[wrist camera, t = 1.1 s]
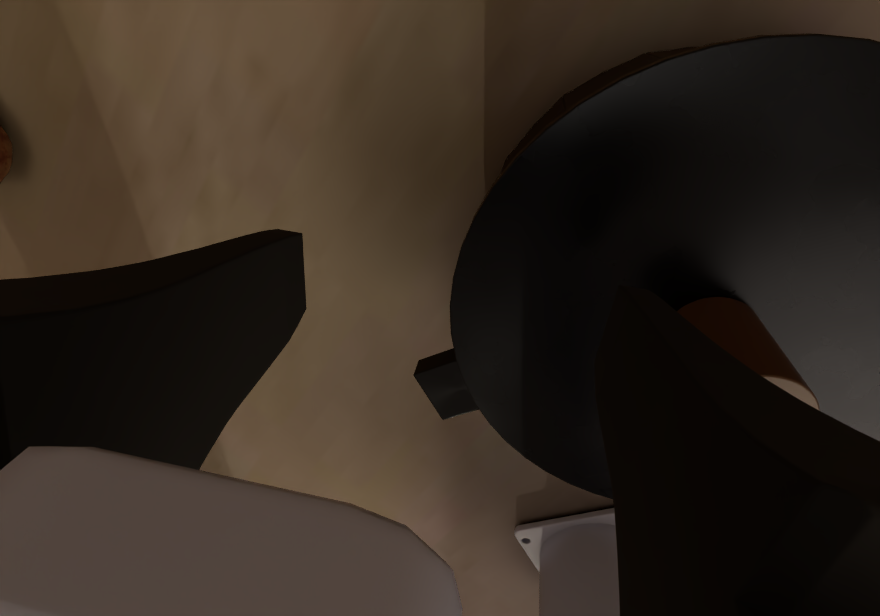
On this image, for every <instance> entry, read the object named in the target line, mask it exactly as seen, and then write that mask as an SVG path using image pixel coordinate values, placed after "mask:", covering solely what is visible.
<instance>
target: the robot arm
mask: <svg viewBox="0 0 880 616" xmlns="http://www.w3.org/2000/svg"><path fill="white" fill-rule="evenodd" d="M305 310H306V294H305V276H304V258H303V239H302V233H298V232H292V231H286V230H279V229H274V230H267V231H261V232H257V233H253V234H249V235H245V236H241V237H238V238H234V239H230V240H227V241H223V242H220V243H216V244H212V245H209V246H205V247H202V248H198V249H194V250H190V251H186V252H182V253H178V254H174V255H170V256H166V257H162V258H158V259H154V260H150V261H145V262H140V263H135V264H130V265H125V266H119V267H113V268H107V269H101V270H94V271H87V272H78V273H69V274H60V275H51V276H42V277H33V278H20V279H4V280H0V616H462V605H461V600H460V596H459V592H458V588H457V584H456V580H455V576H454V572H453V570H452V569H451V568H450V566H449V565H448V564H447V563H446V562H445V561H444V560H443V559H442V558H441V557H440V556H439V555H438V554H437V553H436V552H435V551H433V550H432V549H431V548H430V547H429V546H428V545H427V544H426V543H425V542H424V541H423V540H421V539H420V538H419V537H418V536H417V535H416V534H415V533H414V532H413V531H412V530H411V529H409V528H408V527H407V526H406V525H403V524H401V523H398V522H396V521H393V520H391V519H388V518H386V517H383V516H381V515H378V514H376V513H373V512H371V511H368V510H366V509H363V508H361V507H358V506H356V505H353V504H351V503H346V502H342V501H337V500H333V499H328V498H324V497H319V496H315V495H310V494H305V493H301V492H296V491H292V490H287V489H283V488H278V487H274V486H269V485H264V484H260V483H255V482H251V481H246V480H242V479H237V478H233V477H228V476H223V475H219V474H214V473H210V472H205V471H201V470H199V469H200V467H201V465H202V463H203V462H204V460H205V458H206V457H207V455H208V453H209V452H210V450H211V448H212V447H213V445H214V443H215V442H216V440H217V438H218V437H219V435H220V433H221V432H222V430H223V428H224V427H225V425H226V424H227V422H228V421H229V419H230V418H231V416H232V415H233V414H234V412H235V411H236V409H237V408H238V407H239V405H240V404H241V403H242V401H243V400H244V399H245V398H246V396H247V395H248V394H249V392H250V391H251V390H252V389H253V387H254V386H255V385H256V383H257V382H258V381H259V380H260V378H261V377H262V376H263V374H264V373H265V372H266V371H267V369H268V368H269V367H270V365H271V364H272V363H273V361H274V360H275V359H276V358H277V356H278V355H279V354H280V352H281V351H282V350H283V348H284V347H285V346H286V344H287V343H288V341H289V340H290V338H291V336H292V335H293V333H294V331H295V329H296V328H297V326H298V324H299V322H300V320H301V318H302V316H303V314H304V312H305ZM594 362H595V398H596V404H597V410H598V415H599V421H600V427H601V432H602V437H603V443H604V448H605V453H606V459H607V464H608V469H609V475H610V480H611V486H612V493H613V501H614V508H610V509H604V510H599V511H594V512H588V513H583V514H577V515H572V516H566V517H561V518H556V519H550V520H545V521H539V522H534V523H528V524H523V525H519V526H517V527H515V531H514V535H515V537H516V538H517V540H518V541H519V543H520V544H521V546H522V547H523V549H524V550H525V552H526V554H527V555H528V557H529V558H530V560H531V561H532V563H533V564H534V566H535V567H536V569H537V570H538V572H539V616H880V441H878V440H876V439H874V438H872V437H870V436H868V435H866V434H864V433H862V432H859V431H857V430H855V429H854V428H852V427H850V426H848V425H846V424H844V423H842V422H840V421H838V420H836V419H834V418H833V417H831V416H829V415H827V414H825V413H823V412H821V411H819V410H817V409H815V408H814V407H812V406H810V405H808V404H807V403H805V402H803V401H801V400H799V399H798V398H796V397H794V396H793V395H791V394H790V393H788V392H786V391H785V390H783V389H781V388H780V387H778V386H777V385H775V384H773V383H772V382H770V381H768V380H767V379H765V378H764V377H762V376H761V375H759V374H758V373H756V372H755V371H753V370H752V369H750V368H749V367H747V366H746V365H745V364H743V363H742V362H740V361H739V360H738V359H736V358H735V357H734V356H732V355H731V354H729V353H728V352H727V351H725V350H724V349H723V348H721V347H720V346H719V345H717V344H716V343H715V342H714V341H712V340H711V339H710V338H708V337H707V336H706V335H705V334H703V333H702V332H701V331H700V330H699V329H697V328H696V327H695V326H694V325H692V324H691V323H690V322H689V321H688V320H686V319H685V318H684V317H683V316H682V315H680V314H679V313H678V312H677V311H676V310H674V309H673V308H672V307H671V306H670V305H668V304H667V303H666V302H665V301H663V300H662V299H661V298H660V297H658V296H657V295H656V294H654V293H653V292H651V291H649V290H647V289H641V288H635V287H629V286H623V285H619V286H618V289H617V292H616V295H615V298H614V302H613V305H612V308H611V311H610V314H609V317H608V320H607V323H606V326H605V329H604V333H603V336H602V339H601V342H600V345H599V348H598V351H597V354H596V357H595V360H594Z"/></svg>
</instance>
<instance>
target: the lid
mask: <svg viewBox="0 0 880 616" xmlns="http://www.w3.org/2000/svg"><path fill="white" fill-rule="evenodd" d="M619 285H623V286H629V287H635V288H641V289H647V290H649V291H651V292H653V293H654V294H656V295H657V296H658V297H660V298H661V299H662V300H663V301H665V302H666V303H667V304H668V305H670V306H671V307H672V308H673V309H674V310H676V311H677V312H678V313H679V314H680V315H682V316H683V317H684V318H685V319H686V320H688V321H689V322H690V323H691V324H692V325H694V326H695V327H696V328H697V329H699V330H700V331H701V332H702V333H703V334H705V335H706V336H707V337H708V338H710V339H711V340H712V341H714V342H715V343H716V344H717V345H719V346H720V347H721V348H723V349H724V350H725V351H727V352H728V353H729V354H731V355H732V356H734V357H735V358H736V359H738V360H739V361H740V362H742V363H743V364H745V365H746V366H747V367H749V368H750V369H752V370H753V371H755V372H756V373H758V374H759V375H761V376H762V377H764V378H765V379H767V380H768V381H770V382H772V383H773V384H775V385H777V386H778V387H780V388H781V389H783V390H785V391H786V392H788V393H790V394H791V395H793V396H794V397H796V398H798V399H799V400H801V401H803V402H805V403H807V404H808V405H810V406H812V407H814V408H815V409H817V410H819V411H821V412H823V413H825V414H827V415H829V416H831V417H833V418H834V419H836V420H838V421H840V422H842V423H844V424H846V425H848V426H850V427H852V428H854V429H855V430H857V431H859V432H862V433H864V434H866V435H868V436H870V437H872V438H874V439H876V440H878V441H880V42H879V41H875V40H871V39H864V38H854V37H844V36H834V35H824V34H812V33H806V34H780V35H758V36H752V37H747V38H741V39H735V40H729V41H723V42H717V43H711V44H707V45H704V46H701V47H697V48H694V49H691V50H687V51H684V52H681V53H677V54H674V55H671V56H668V57H664V58H661V59H659V60H657V61H655V62H652V63H650V64H648V65H645V66H643V67H641V68H639V69H636V70H634V71H632V72H629V73H627V74H625V75H623V76H620V77H618V78H617V79H615V80H613V81H611V82H610V83H608V84H606V85H605V86H603V87H601V88H600V89H598V90H596V91H594V92H593V93H591V94H589V95H588V96H586V97H584V98H583V99H581V100H579V101H578V102H577V103H575V104H574V105H573V106H571V107H570V108H569V109H567V110H566V111H565V112H563V113H562V114H561V115H560V116H558V117H557V118H556V119H554V120H553V121H552V122H550V123H549V124H548V125H546V126H545V127H544V128H543V129H542V130H541V131H540V132H539V133H538V134H537V135H536V136H535V137H534V138H533V139H532V140H531V141H530V142H529V143H528V144H527V145H526V146H525V147H524V148H523V149H522V150H521V151H520V152H518V153H517V154H516V156H515V157H514V158H513V159H512V161H511V162H510V163H509V165H508V166H507V167H506V168H505V170H504V171H503V172H502V173H501V175H500V176H499V177H498V178H497V180H496V181H495V182H494V183H493V185H492V187H491V188H490V190H489V192H488V193H487V195H486V197H485V198H484V200H483V202H482V203H481V205H480V207H479V208H478V210H477V212H476V213H475V216H474V218H473V220H472V223H471V225H470V227H469V230H468V232H467V234H466V237H465V239H464V241H463V244H462V247H461V250H460V254H459V257H458V261H457V265H456V269H455V272H454V276H453V283H452V292H451V300H450V323H451V336H452V341H453V347H454V352H455V357H456V360H457V363H458V366H459V369H460V372H461V375H462V378H463V381H464V383H465V385H466V387H467V389H468V391H469V392H470V394H471V396H472V398H473V400H474V402H475V404H476V405H477V407H478V408H479V410H480V411H481V412H482V414H483V415H484V417H485V418H486V419H487V421H488V422H489V424H490V425H491V426H492V427H493V428H494V429H495V430H496V431H497V432H498V433H499V434H500V436H501V437H502V438H503V439H504V440H505V441H506V442H507V443H508V444H510V445H511V446H512V447H513V448H514V449H515V450H517V451H518V452H519V453H520V454H521V455H523V456H524V457H525V458H526V459H528V460H529V461H531V462H532V463H534V464H535V465H537V466H538V467H540V468H541V469H543V470H544V471H546V472H548V473H550V474H552V475H554V476H555V477H557V478H559V479H561V480H563V481H565V482H567V483H569V484H571V485H574V486H576V487H579V488H581V489H584V490H586V491H589V492H591V493H594V494H597V495H601V496H604V497H607V498H611V499H613V493H612V486H611V480H610V475H609V469H608V464H607V459H606V453H605V448H604V443H603V437H602V432H601V427H600V421H599V415H598V410H597V404H596V398H595V362H594V360H595V357H596V354H597V351H598V348H599V345H600V342H601V339H602V336H603V333H604V329H605V326H606V323H607V320H608V317H609V314H610V311H611V308H612V305H613V302H614V298H615V295H616V292H617V289H618V286H619Z"/></svg>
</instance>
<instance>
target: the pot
mask: <svg viewBox="0 0 880 616" xmlns="http://www.w3.org/2000/svg"><path fill="white" fill-rule="evenodd" d="M694 48H697V47H686V48H680V49H674V50H666V51H657V52H648V53H646V54H642V55H640V56H638V57H636V58H634V59H632V60H630V61H628V62H626V63H623V64H621V65H619V66H617V67H614V68H612V69H610V70H608V71H605V72H603V73H601V74H599V75H598V76H596V77H594V78H593V79H591V80H589V81H587V82H586V83H584V84H582V85H581V86H579V87H577V88H576V89H574V90H572V91H571V92H569V93H567V94H565V95H563V97H561V98H560V99H559V100H558V101H557V102H556V103H555V104H554V106H553V107H552V108H551V109H550V110H549V111H548V112H547V113H546V114H545V115H544V116H543V117H542V118H540V119H539V120H538V121H537V122H536V123H535V124H534V125H533V127H532V128H531V129H530V130H529V132H528V133H527V134H526V136H525V137H524V138H523V139H522V141H521V142H520V143H519V144H518V146H517V147H516V148H515V149H514V150H513V151H512V152H511V154H510V155H509V156H508V157H507V159H506V160H505V163H504V166H503V169H502V171H501V173H502V172H503V171H504V170H505V168H506V167H507V166H508V165H509V163H510V162H511V161H512V159H513V158H514V157H515V156H516V154H517V153H518V152H520V151H521V150H522V149H523V148H524V147H525V146H526V145H527V144H528V143H529V142H530V141H531V140H532V139H533V138H534V137H535V136H536V135H537V134H538V133H539V132H540V131H541V130H542V129H543V128H544V127H545V126H546V125H548V124H549V123H550V122H552V121H553V120H554V119H556V118H557V117H558V116H560V115H561V114H562V113H563V112H565V111H566V110H567V109H569V108H570V107H571V106H573V105H574V104H575V103H577V102H578V101H579V100H581V99H583V98H584V97H586V96H588V95H589V94H591V93H593V92H594V91H596V90H598V89H600V88H601V87H603V86H605V85H606V84H608V83H610V82H611V81H613V80H615V79H617V78H618V77H620V76H623V75H625V74H627V73H629V72H632V71H634V70H636V69H639V68H641V67H643V66H645V65H648V64H650V63H652V62H655V61H657V60H659V59H661V58H664V57H668V56H671V55H674V54H677V53H681V52H684V51H687V50H691V49H694ZM500 175H501V174H500ZM414 377H415V378H416V380H417V382H418V383H419V385H420V386H421V388H422V389H423V391H424V392H425V394H426V395H427V397H428V398H429V400H430V401H431V403H432V404H433V406H434V407H435V409H436V410H437V412H438V413H439V415H440V416H441V418H442V419H443V420H444V419H448V418H451V417H455V416H458V415H462V414H465V413H469V412H472V411H475V410H479V408H478V407H477V405H476V404H475V402H474V400H473V398H472V396H471V394H470V392H469V391H468V389H467V387H466V385H465V383H464V381H463V378H462V375H461V372H460V369H459V366H458V363H457V360H456V357H455V352H454V348H453V349H450V350H447V351H444V352H441V353H438V354H436V355H433V356H430V357H427V358H424V359H421V360H419V361H418V364H417V367H416V370H415V372H414Z"/></svg>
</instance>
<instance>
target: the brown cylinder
mask: <svg viewBox="0 0 880 616" xmlns="http://www.w3.org/2000/svg"><path fill="white" fill-rule="evenodd" d="M11 163H12V143H11V141H10V139H9V137H8V135H7V134H6V132H5V131H4V129H3V128H2V127H1V126H0V183H1V181H2V180H3V179H4V177H5V176H6V175H7V174H8V172H9V170H10V167H11Z"/></svg>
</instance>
